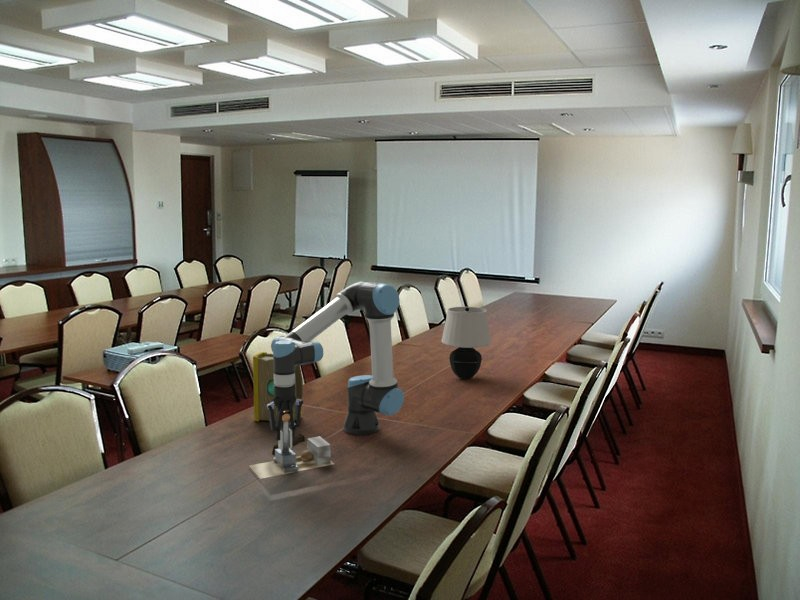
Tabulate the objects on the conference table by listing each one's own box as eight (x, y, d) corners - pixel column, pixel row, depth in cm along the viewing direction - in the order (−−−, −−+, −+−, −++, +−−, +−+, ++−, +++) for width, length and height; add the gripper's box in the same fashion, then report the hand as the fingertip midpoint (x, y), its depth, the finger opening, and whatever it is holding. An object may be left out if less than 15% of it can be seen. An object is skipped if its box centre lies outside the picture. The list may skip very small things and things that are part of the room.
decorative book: (251, 421, 292) (250, 354, 288) (262, 413, 303) (261, 349, 299) (294, 425, 288) (294, 358, 284) (304, 417, 299) (303, 352, 294)
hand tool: (297, 441, 270) (297, 430, 269) (305, 443, 268) (305, 432, 267) (266, 457, 253) (266, 445, 253) (275, 459, 251) (274, 447, 251)
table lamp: (464, 370, 386) (467, 301, 380) (499, 380, 366) (502, 308, 360) (430, 377, 369) (431, 306, 363) (465, 388, 349) (467, 313, 343)
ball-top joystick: (286, 458, 247) (285, 405, 244) (298, 470, 237) (297, 415, 234) (273, 460, 245) (272, 407, 242) (284, 472, 234) (284, 417, 231)
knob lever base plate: (320, 455, 255) (320, 434, 254) (334, 467, 244) (334, 445, 242) (248, 469, 241) (248, 447, 240) (260, 482, 230) (259, 459, 229)
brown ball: (309, 459, 248) (310, 448, 247) (313, 464, 244) (315, 452, 244) (297, 460, 246) (299, 448, 245) (302, 464, 242) (304, 452, 241)
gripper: (301, 379, 243) (302, 440, 247) (259, 384, 236) (260, 448, 239) (309, 384, 237) (309, 447, 241) (266, 389, 229) (267, 455, 233)
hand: (285, 447), depth 240 cm, fingers closed on ball-top joystick, 3 cm apart
